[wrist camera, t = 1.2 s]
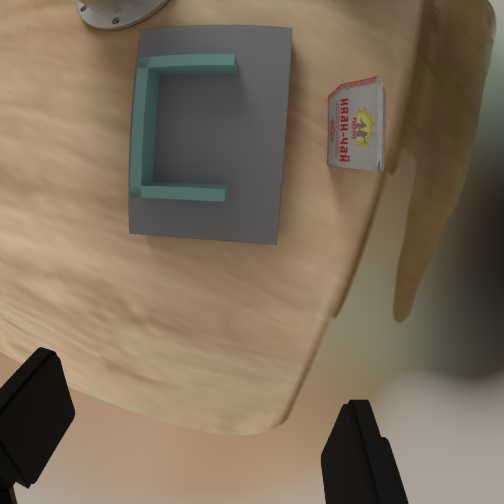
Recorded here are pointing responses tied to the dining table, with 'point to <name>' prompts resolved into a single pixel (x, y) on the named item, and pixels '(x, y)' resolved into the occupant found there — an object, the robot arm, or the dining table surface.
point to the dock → (209, 132)
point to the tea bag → (357, 125)
